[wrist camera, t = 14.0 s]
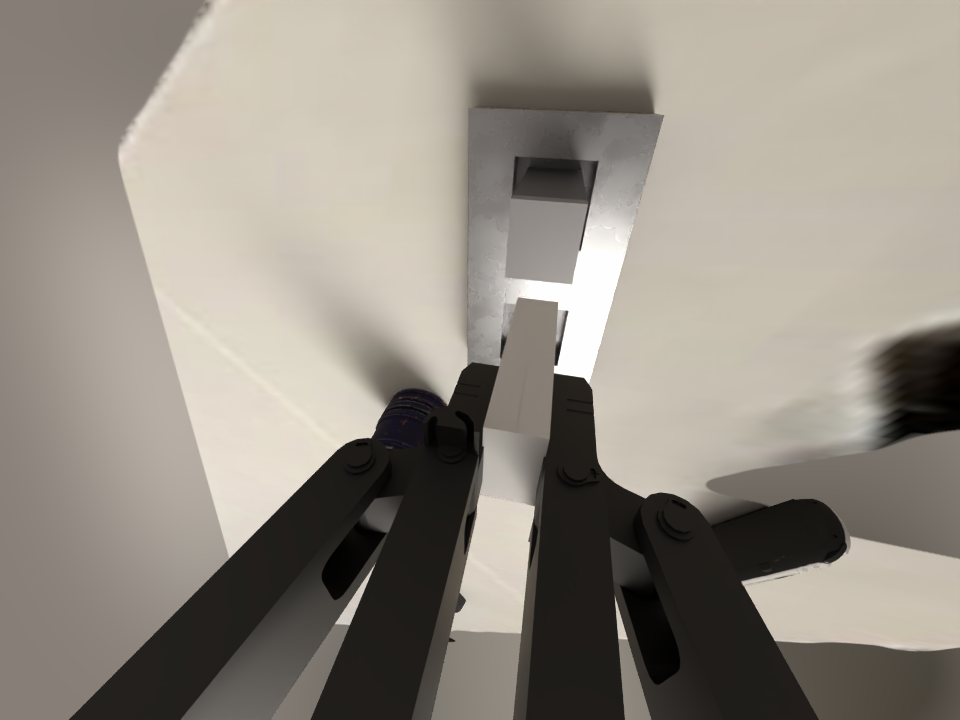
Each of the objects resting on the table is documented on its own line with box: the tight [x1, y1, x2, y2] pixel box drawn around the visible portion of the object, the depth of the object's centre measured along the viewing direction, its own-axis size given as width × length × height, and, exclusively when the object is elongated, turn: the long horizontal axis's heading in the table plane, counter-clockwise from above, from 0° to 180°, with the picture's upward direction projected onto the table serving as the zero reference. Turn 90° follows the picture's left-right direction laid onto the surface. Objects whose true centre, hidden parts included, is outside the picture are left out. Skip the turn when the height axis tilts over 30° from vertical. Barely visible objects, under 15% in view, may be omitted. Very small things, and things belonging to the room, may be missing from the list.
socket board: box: [468, 107, 664, 384], centre depth 35 cm, size 14×26×4 cm, turn 178°
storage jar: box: [371, 389, 447, 450], centre depth 48 cm, size 10×10×15 cm
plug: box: [505, 167, 588, 285], centre depth 27 cm, size 4×5×12 cm
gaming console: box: [711, 499, 850, 586], centre depth 49 cm, size 19×9×2 cm
